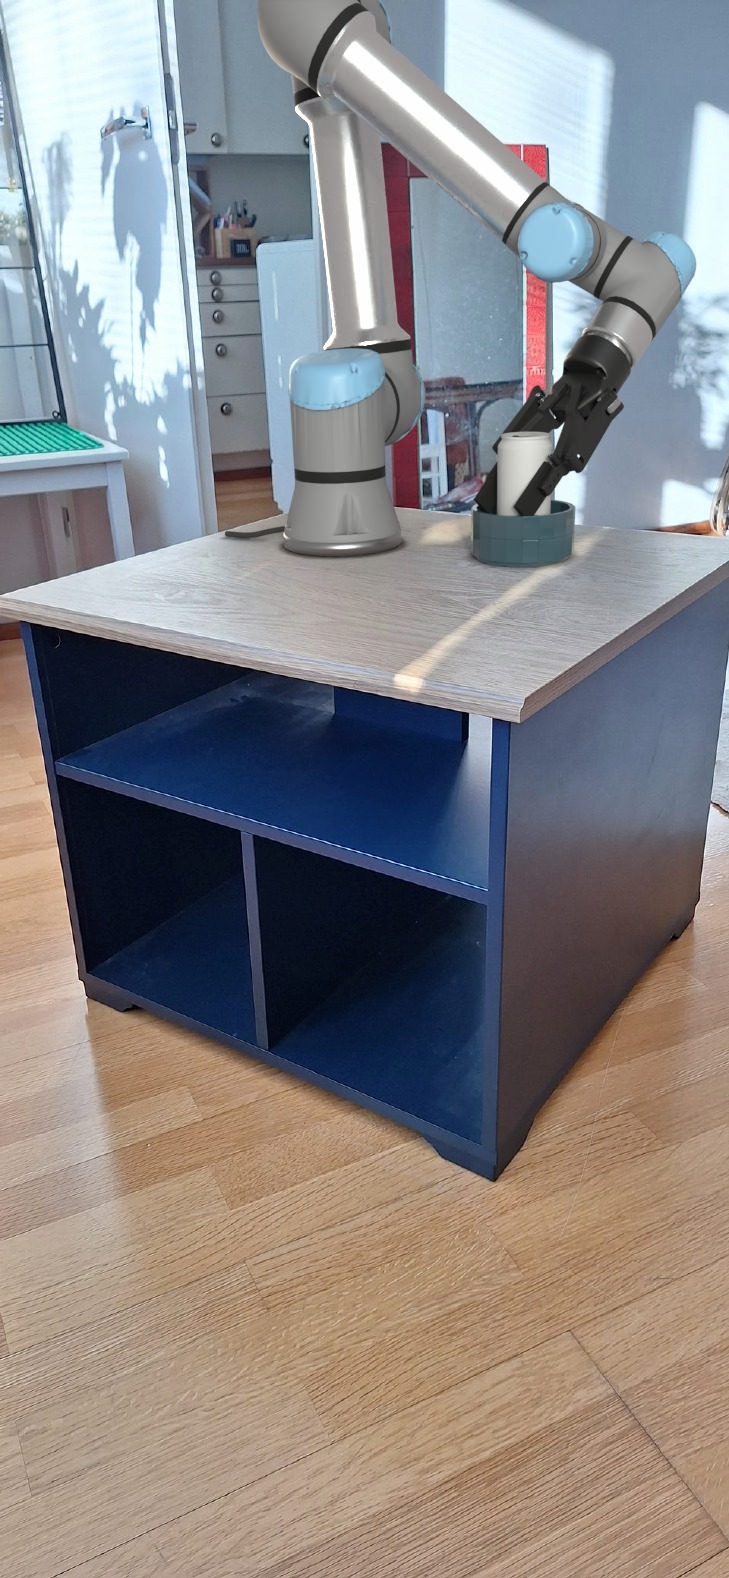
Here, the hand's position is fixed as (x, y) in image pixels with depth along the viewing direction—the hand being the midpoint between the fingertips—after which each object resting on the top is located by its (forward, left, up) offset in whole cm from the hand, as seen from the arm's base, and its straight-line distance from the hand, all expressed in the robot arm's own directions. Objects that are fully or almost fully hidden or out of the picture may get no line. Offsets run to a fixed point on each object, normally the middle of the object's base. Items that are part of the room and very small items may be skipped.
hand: (501, 510), depth 131 cm
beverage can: (+1, +3, -4) cm, 5 cm away
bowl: (+1, +3, -6) cm, 7 cm away
